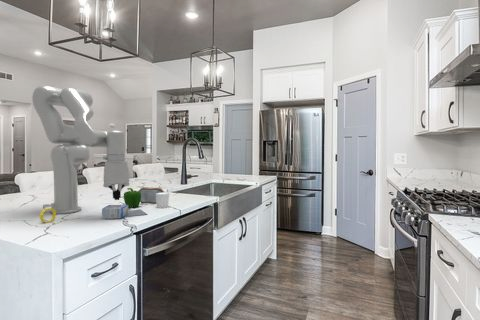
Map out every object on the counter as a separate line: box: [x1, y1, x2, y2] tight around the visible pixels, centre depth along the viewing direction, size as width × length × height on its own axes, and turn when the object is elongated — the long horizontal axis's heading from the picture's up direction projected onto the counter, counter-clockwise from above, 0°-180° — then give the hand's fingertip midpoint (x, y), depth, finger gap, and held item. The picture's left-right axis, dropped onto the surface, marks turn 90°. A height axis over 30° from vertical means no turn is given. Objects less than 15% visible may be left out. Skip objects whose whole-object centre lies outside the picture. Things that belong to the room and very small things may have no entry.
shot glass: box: [155, 192, 170, 209], centre depth 149 cm, size 7×7×7 cm
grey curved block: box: [138, 186, 164, 204], centre depth 160 cm, size 15×3×8 cm, turn 84°
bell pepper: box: [123, 187, 141, 209], centre depth 149 cm, size 8×8×10 cm
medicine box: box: [101, 204, 129, 220], centre depth 127 cm, size 8×4×9 cm
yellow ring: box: [39, 207, 57, 224], centre depth 118 cm, size 6×3×6 cm, turn 161°
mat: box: [109, 209, 148, 220], centre depth 132 cm, size 16×12×1 cm
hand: (116, 199), depth 129 cm, fingers closed
